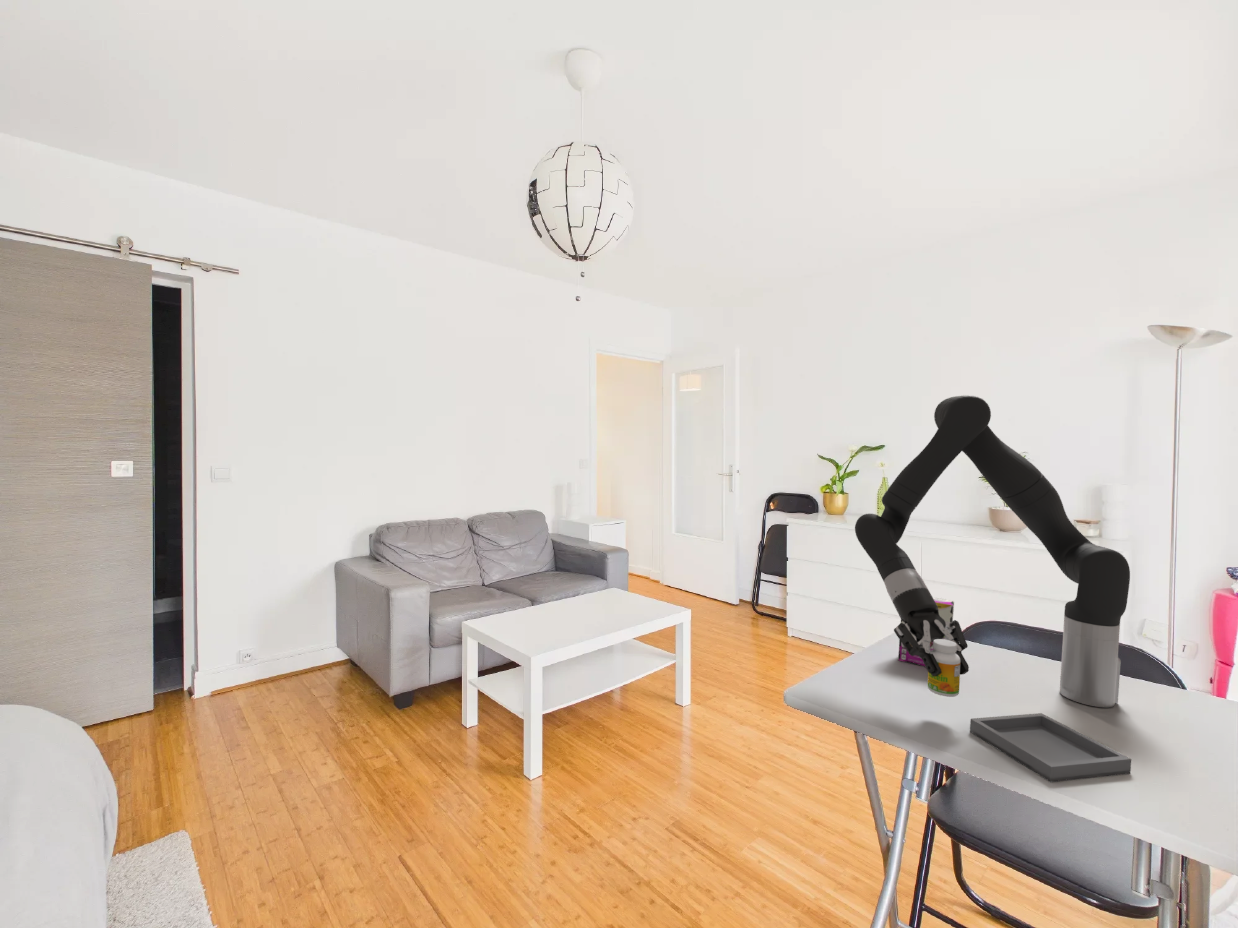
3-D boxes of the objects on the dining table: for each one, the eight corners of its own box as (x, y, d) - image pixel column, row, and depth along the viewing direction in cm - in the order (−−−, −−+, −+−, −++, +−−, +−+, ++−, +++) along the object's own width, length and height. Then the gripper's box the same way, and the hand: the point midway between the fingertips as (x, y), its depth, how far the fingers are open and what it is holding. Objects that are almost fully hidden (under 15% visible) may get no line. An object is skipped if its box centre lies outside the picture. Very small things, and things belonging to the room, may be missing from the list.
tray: (1040, 725, 109) (1041, 713, 109) (1130, 773, 94) (1131, 758, 94) (969, 731, 106) (970, 718, 106) (1050, 782, 91) (1051, 766, 90)
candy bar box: (897, 661, 141) (901, 596, 140) (900, 655, 145) (903, 592, 144) (949, 672, 135) (953, 604, 134) (950, 665, 139) (954, 599, 138)
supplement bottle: (922, 689, 111) (924, 641, 111) (934, 682, 114) (936, 635, 114) (951, 700, 107) (953, 649, 107) (963, 692, 110) (965, 643, 110)
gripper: (888, 587, 116) (929, 668, 105) (949, 584, 119) (995, 663, 107) (871, 605, 121) (908, 684, 110) (929, 602, 124) (971, 679, 113)
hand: (951, 673), depth 109 cm, fingers closed on supplement bottle, 5 cm apart
